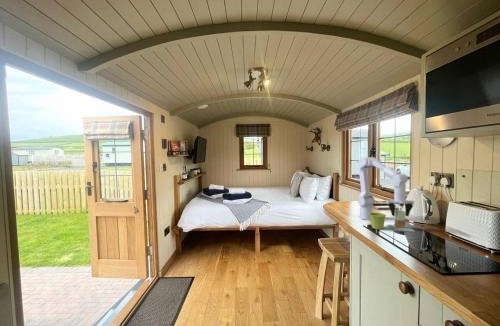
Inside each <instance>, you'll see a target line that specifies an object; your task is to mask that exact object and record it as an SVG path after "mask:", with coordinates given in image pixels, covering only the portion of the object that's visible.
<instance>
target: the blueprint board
mask: <svg viewBox="0 0 500 326" xmlns="http://www.w3.org/2000/svg"><path fill="white" fill-rule="evenodd" d="M386 226H387V227H388V228H390V230H392V231H393V232H403V233H404V232H406V233H407V232H410V233H415V232H416V231H415V230H414V229H413V228H411V227H409V226H408V225H406V224H405V228H397V227H395V224H386Z"/></svg>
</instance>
